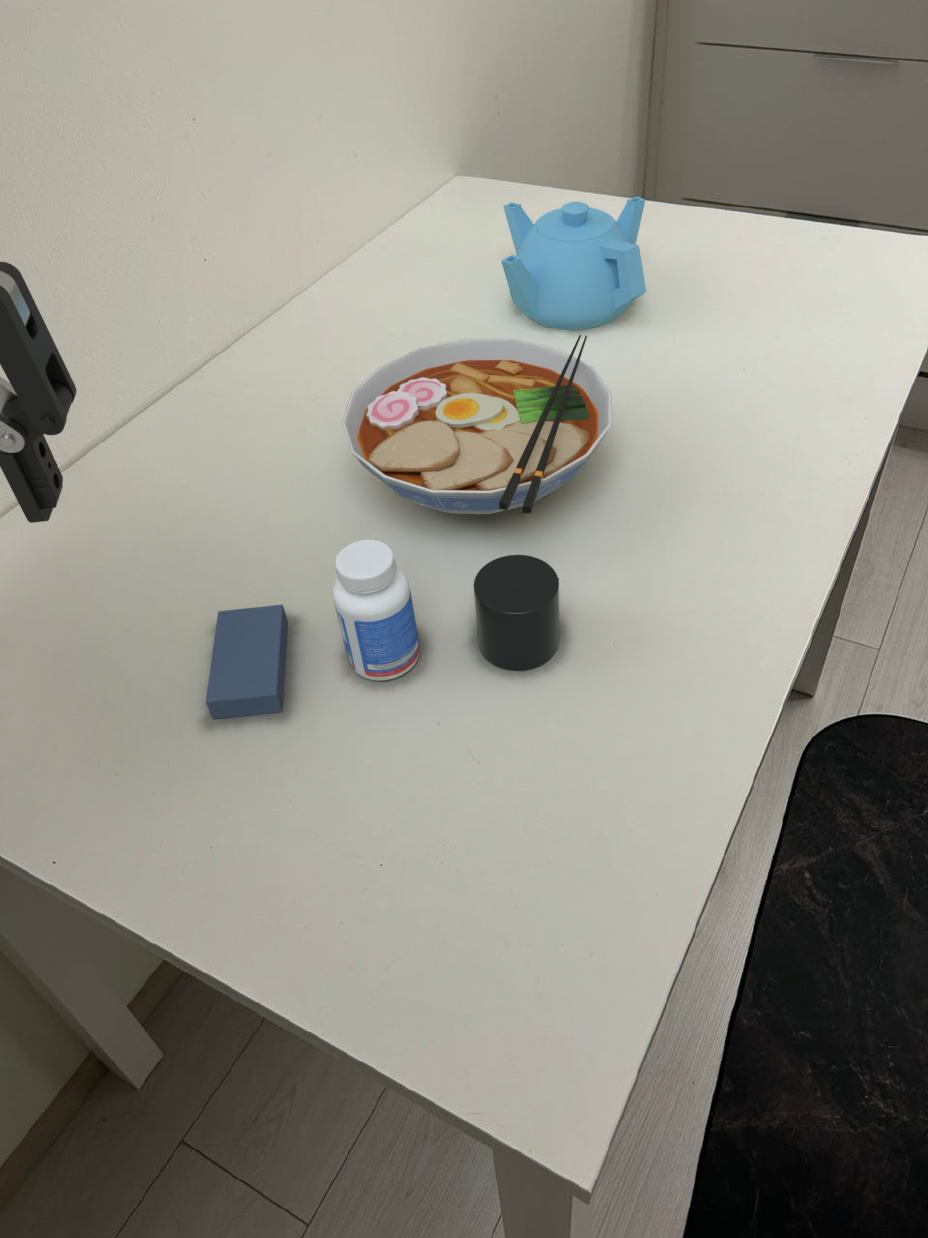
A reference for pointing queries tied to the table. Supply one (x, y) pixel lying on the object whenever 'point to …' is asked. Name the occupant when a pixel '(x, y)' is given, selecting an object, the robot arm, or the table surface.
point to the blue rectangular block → (248, 662)
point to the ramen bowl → (478, 423)
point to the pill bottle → (375, 611)
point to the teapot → (575, 264)
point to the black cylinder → (517, 612)
